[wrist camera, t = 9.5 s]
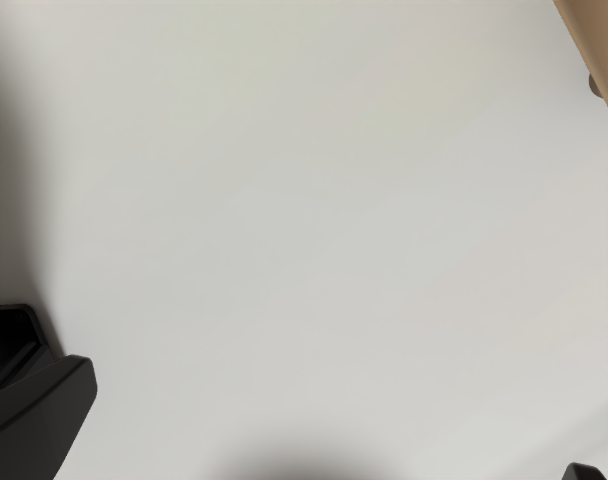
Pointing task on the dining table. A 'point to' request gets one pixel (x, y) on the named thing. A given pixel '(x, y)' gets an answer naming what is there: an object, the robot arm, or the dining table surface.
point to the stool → (589, 37)
